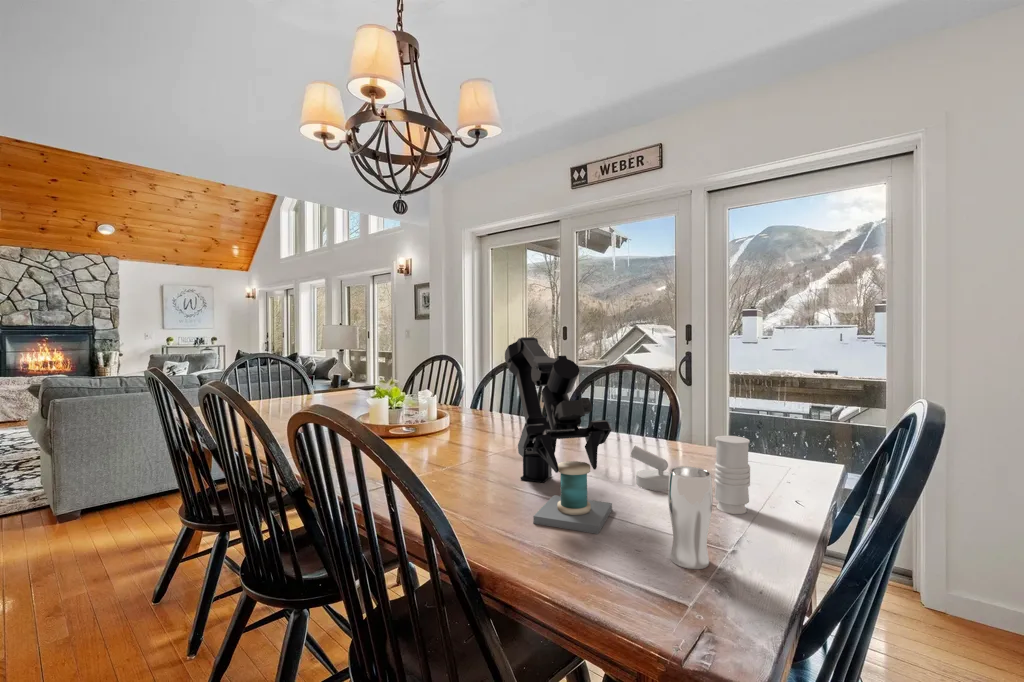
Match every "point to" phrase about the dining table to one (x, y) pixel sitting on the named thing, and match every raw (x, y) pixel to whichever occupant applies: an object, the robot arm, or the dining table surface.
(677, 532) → the metal tumbler
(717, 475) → the white ribbed cylinder
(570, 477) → the cord spool
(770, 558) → the dining table surface
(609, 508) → the slate board
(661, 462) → the white spotlight lamp
